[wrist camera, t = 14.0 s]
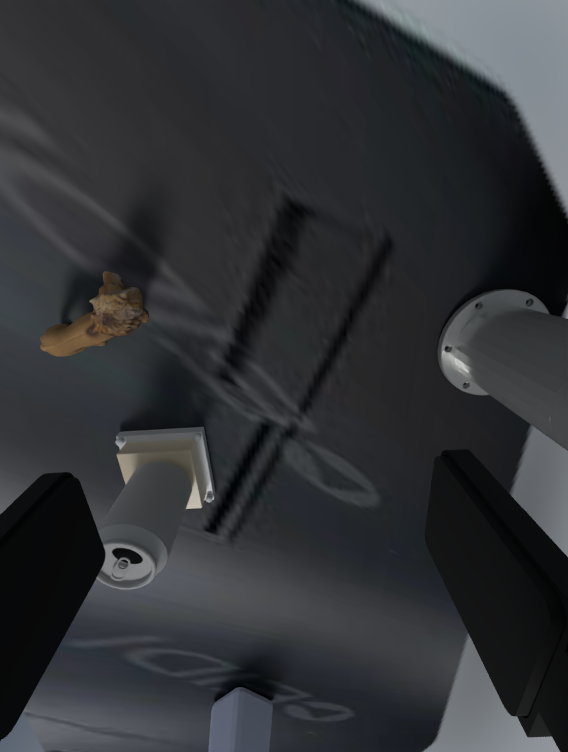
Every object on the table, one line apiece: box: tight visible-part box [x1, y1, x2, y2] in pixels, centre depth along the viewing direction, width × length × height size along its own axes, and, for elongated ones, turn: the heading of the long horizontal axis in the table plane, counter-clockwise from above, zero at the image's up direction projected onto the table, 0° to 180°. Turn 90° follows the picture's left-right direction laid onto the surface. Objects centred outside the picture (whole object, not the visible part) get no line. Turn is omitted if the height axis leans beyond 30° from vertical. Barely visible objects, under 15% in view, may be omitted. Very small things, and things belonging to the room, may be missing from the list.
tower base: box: [116, 427, 216, 509], centre depth 43 cm, size 11×11×4 cm
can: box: [97, 461, 192, 589], centre depth 36 cm, size 8×8×12 cm
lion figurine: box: [40, 271, 149, 356], centre depth 33 cm, size 15×5×9 cm, turn 123°
